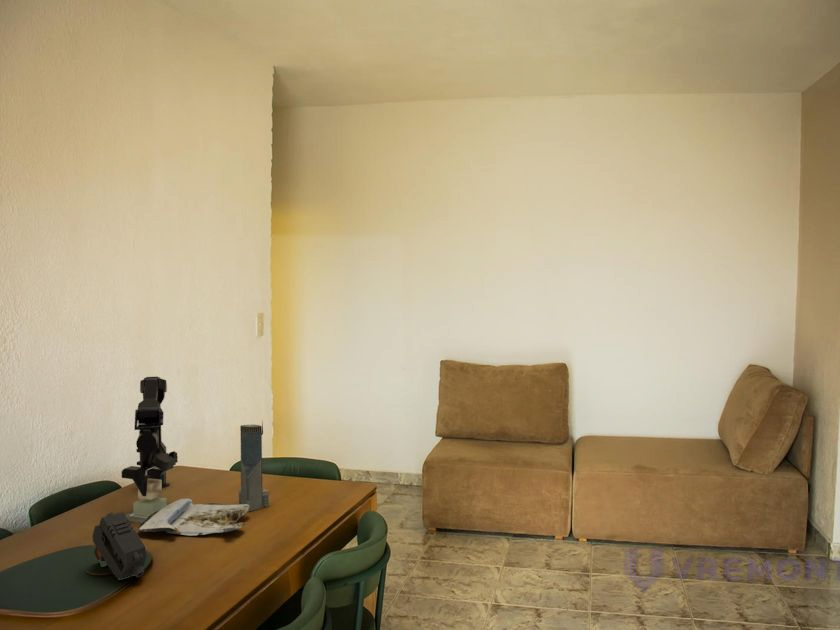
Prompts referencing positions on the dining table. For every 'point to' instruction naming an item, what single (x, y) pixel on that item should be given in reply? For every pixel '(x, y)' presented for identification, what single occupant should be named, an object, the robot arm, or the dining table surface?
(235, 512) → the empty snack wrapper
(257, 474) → the building
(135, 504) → the sage block
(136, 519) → the slate mat
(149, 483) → the birch cube
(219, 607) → the dining table surface
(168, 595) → the dining table surface
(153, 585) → the dining table surface
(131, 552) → the tool
